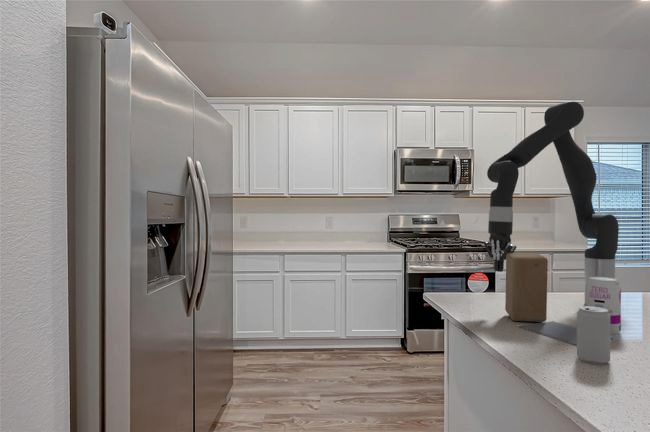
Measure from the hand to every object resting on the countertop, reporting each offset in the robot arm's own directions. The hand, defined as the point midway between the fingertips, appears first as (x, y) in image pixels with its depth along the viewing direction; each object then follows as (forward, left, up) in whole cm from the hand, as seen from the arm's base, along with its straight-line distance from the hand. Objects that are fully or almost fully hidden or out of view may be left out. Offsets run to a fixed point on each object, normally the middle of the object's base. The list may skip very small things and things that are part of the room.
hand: (498, 271), depth 138 cm
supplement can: (-11, +28, -14) cm, 33 cm away
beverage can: (+14, +43, -14) cm, 47 cm away
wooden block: (-1, +10, -14) cm, 17 cm away
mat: (+1, +25, -14) cm, 29 cm away
